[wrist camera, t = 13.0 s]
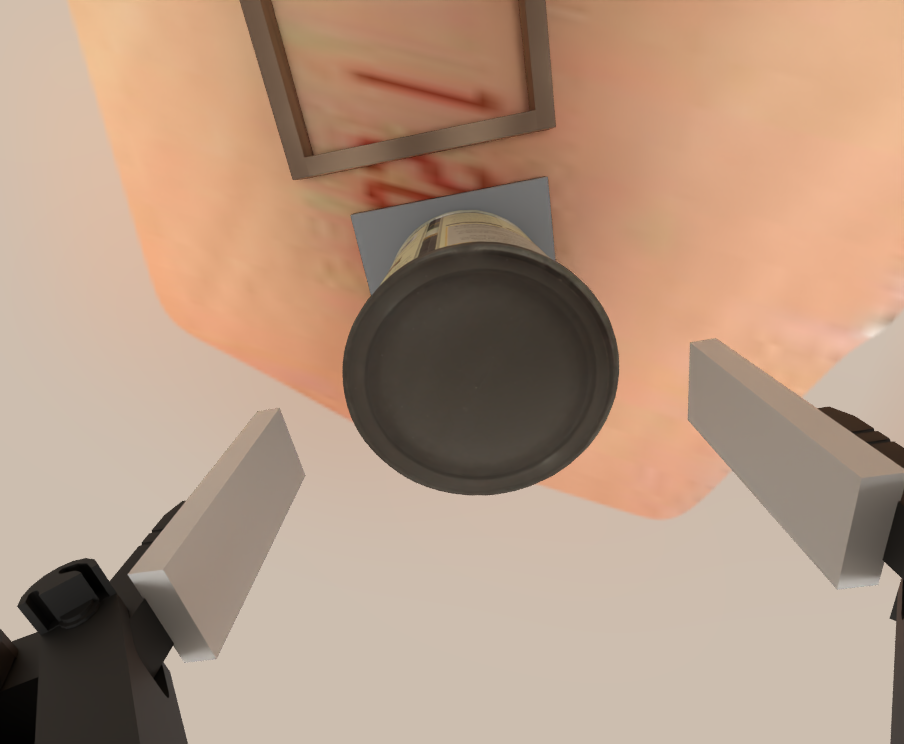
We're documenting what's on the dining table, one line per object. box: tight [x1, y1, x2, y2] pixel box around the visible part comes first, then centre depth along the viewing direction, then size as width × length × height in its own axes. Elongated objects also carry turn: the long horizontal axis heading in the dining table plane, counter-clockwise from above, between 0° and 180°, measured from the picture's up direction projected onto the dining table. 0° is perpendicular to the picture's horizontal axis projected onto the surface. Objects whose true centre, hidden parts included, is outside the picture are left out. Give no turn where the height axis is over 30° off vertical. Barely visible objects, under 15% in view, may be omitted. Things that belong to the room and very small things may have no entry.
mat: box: [350, 177, 555, 295], centre depth 31 cm, size 12×12×1 cm
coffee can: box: [343, 210, 619, 495], centre depth 24 cm, size 10×10×14 cm
